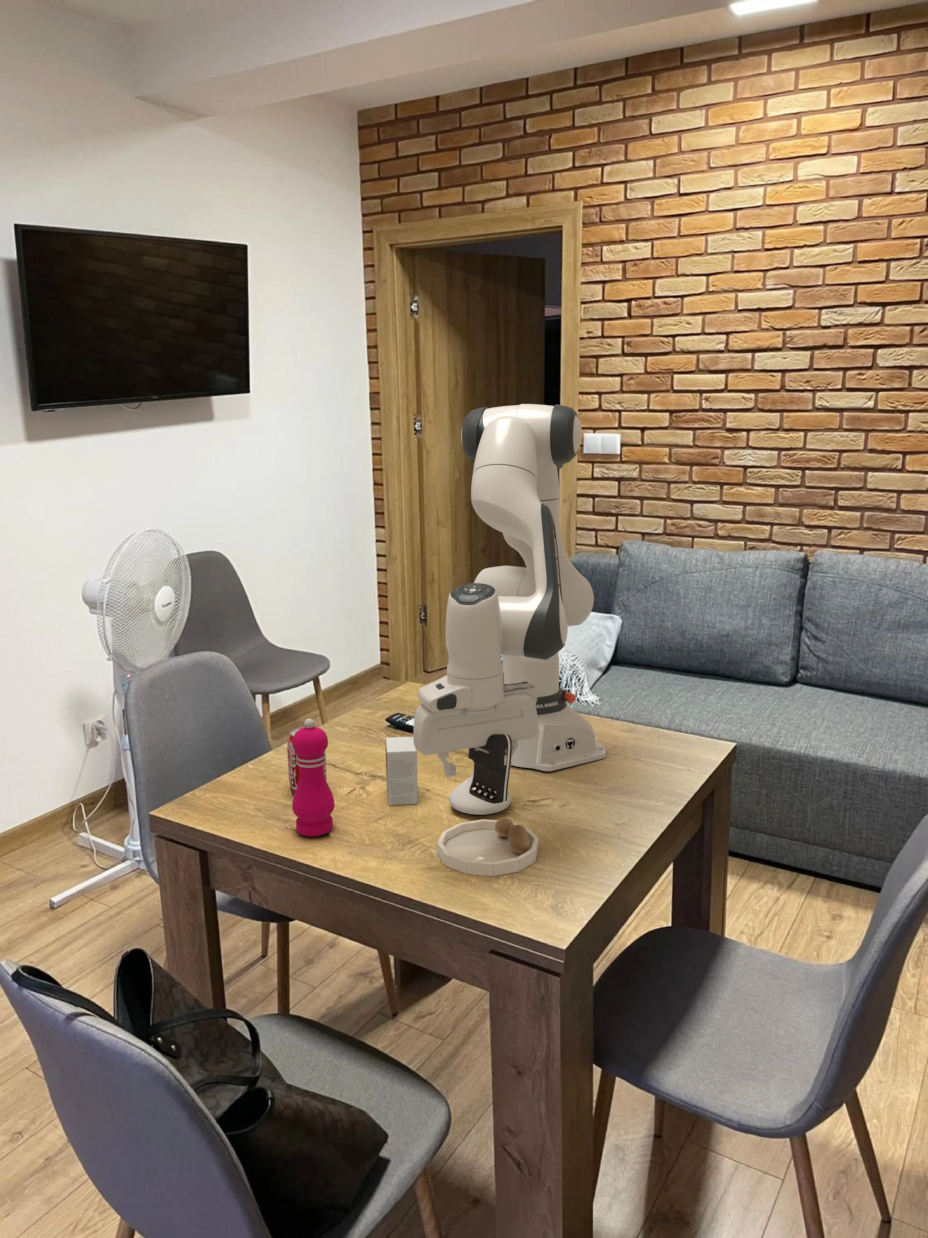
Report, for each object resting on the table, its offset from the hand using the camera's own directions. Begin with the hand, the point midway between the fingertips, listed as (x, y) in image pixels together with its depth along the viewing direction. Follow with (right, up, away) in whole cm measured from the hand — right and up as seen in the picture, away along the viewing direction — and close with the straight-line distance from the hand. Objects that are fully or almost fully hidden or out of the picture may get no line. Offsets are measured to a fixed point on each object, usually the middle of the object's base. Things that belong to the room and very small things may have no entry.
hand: (478, 770), depth 154 cm
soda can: (-32, -9, +29) cm, 44 cm away
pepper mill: (-28, -12, +13) cm, 33 cm away
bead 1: (+5, -12, +7) cm, 15 cm away
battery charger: (+1, -5, +1) cm, 5 cm away
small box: (-14, -9, +26) cm, 31 cm away
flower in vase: (+1, -10, +21) cm, 24 cm away
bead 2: (+7, -13, +5) cm, 15 cm away
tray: (+2, -14, +3) cm, 14 cm away
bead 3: (+7, -14, +1) cm, 15 cm away
